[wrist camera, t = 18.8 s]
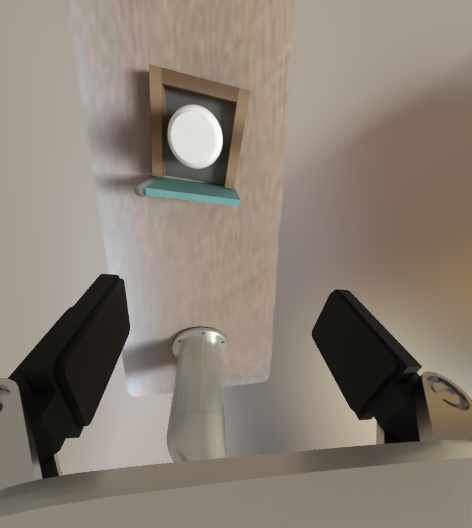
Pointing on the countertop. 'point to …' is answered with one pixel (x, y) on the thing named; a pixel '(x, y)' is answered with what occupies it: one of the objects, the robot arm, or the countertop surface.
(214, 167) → the bay
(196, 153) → the supplement bottle
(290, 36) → the countertop surface
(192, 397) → the robot arm
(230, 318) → the countertop surface
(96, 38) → the countertop surface
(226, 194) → the gate
